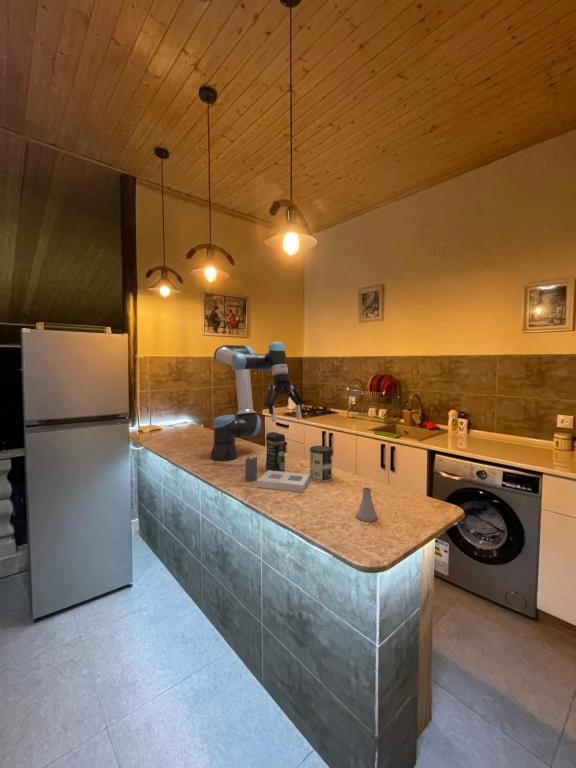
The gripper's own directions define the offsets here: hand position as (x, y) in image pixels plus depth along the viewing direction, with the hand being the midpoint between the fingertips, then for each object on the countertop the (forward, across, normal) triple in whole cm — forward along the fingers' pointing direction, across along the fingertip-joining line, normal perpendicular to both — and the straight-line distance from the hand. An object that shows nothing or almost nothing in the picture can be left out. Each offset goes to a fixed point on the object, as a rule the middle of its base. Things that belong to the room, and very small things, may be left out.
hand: (287, 420), depth 147 cm
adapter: (+24, -13, +17) cm, 32 cm away
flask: (+40, +4, -35) cm, 53 cm away
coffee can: (+28, +15, +2) cm, 32 cm away
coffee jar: (+21, +4, +23) cm, 32 cm away
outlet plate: (+27, -3, +5) cm, 28 cm away
